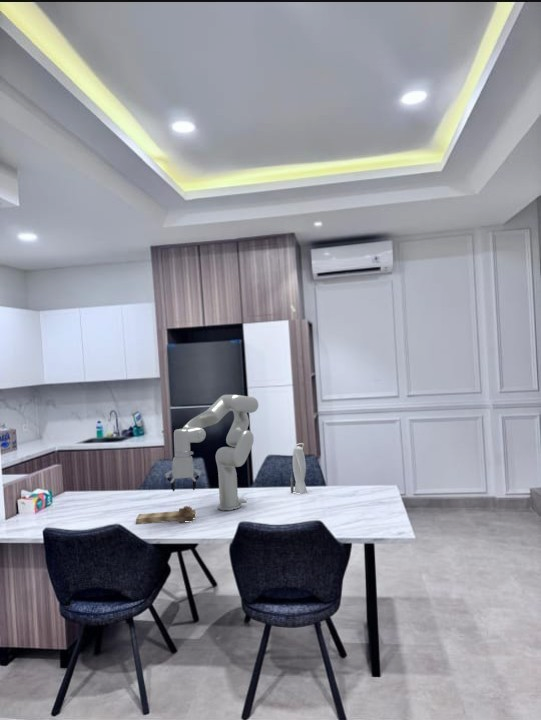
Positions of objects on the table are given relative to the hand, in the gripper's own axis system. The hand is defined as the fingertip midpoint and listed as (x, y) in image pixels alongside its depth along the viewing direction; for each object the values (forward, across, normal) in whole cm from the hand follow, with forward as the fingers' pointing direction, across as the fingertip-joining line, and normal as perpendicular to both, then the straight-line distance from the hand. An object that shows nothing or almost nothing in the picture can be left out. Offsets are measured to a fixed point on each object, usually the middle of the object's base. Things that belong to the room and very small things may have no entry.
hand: (183, 490), depth 234 cm
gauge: (+15, 0, -4) cm, 16 cm away
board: (+15, +10, -7) cm, 19 cm away
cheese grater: (+14, -62, -39) cm, 75 cm away
